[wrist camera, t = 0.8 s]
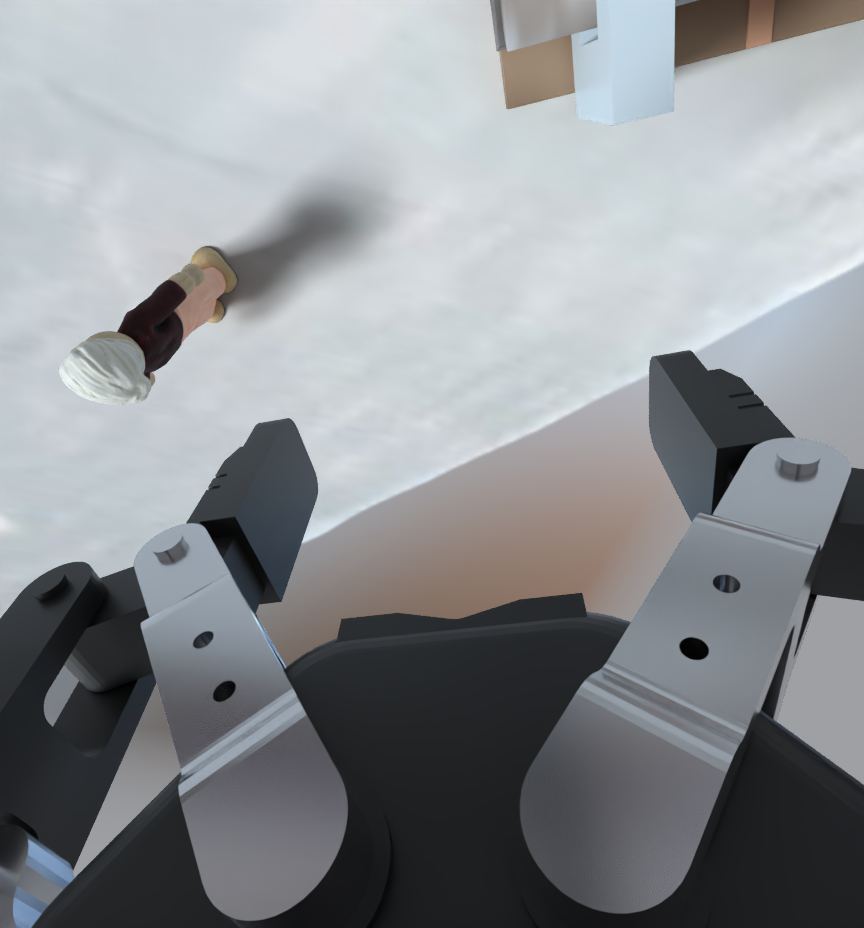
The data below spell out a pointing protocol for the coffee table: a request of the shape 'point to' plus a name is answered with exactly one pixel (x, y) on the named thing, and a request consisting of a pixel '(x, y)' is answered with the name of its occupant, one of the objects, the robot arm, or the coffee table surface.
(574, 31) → the pipe stand
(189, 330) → the grandmother figurine
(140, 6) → the coffee table surface
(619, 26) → the square plate with hole
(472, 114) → the coffee table surface
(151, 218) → the coffee table surface
